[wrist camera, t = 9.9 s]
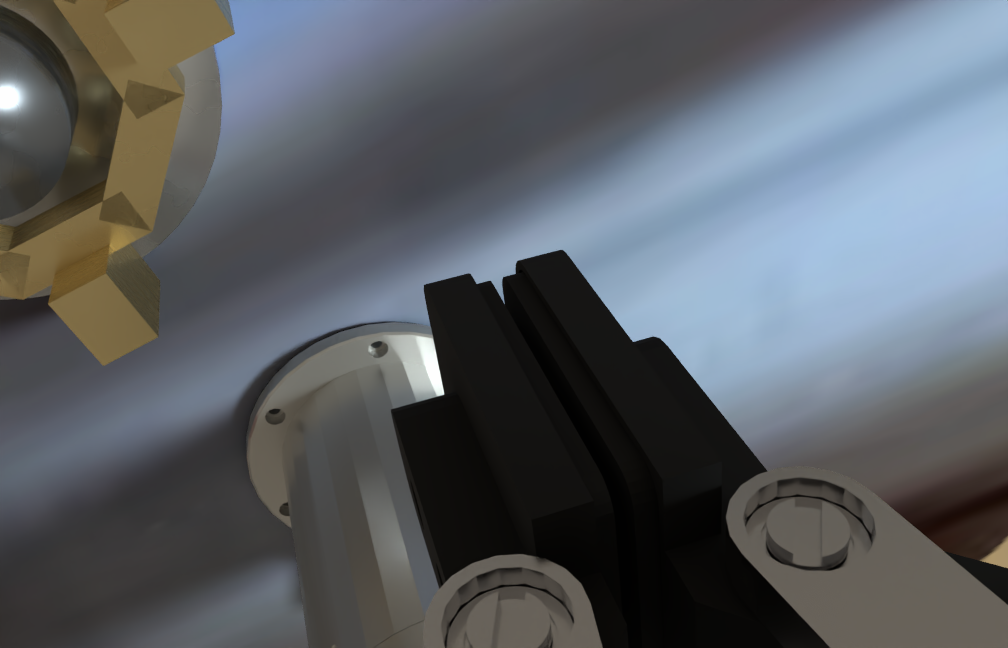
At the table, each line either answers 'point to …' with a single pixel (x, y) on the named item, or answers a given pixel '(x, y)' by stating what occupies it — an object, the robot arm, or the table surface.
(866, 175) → the table surface
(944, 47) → the table surface
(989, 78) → the table surface
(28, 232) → the locking ring
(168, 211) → the flange
